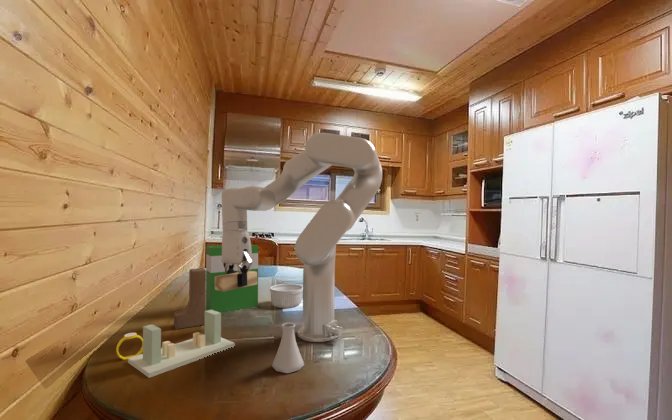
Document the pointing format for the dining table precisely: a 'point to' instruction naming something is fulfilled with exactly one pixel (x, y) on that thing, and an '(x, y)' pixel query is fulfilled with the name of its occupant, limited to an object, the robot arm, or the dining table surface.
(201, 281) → the wooden block
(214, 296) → the green cereal box
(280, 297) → the ramekin
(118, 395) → the dining table surface
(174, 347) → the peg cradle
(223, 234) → the robot arm
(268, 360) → the dining table surface
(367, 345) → the dining table surface
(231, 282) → the tan wooden bar
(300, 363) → the flask
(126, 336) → the watch
